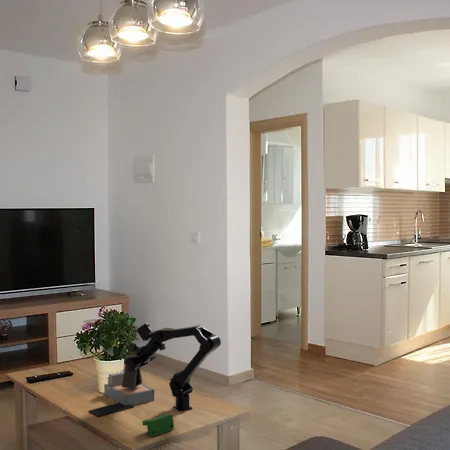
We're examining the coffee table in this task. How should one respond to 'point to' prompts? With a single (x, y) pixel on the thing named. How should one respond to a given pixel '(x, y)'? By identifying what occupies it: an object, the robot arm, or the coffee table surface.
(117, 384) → the flap
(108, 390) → the flap frame
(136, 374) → the phone stand
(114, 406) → the cell phone
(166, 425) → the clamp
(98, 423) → the coffee table surface
